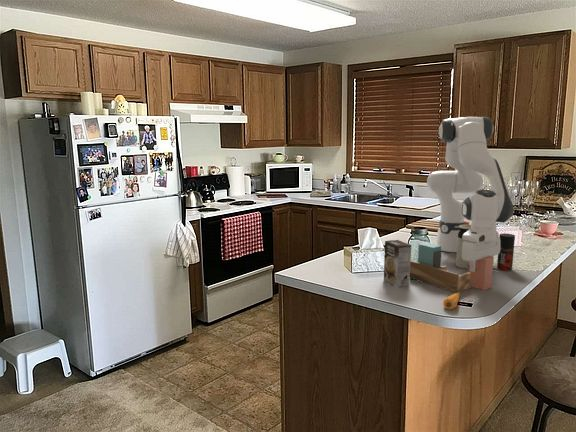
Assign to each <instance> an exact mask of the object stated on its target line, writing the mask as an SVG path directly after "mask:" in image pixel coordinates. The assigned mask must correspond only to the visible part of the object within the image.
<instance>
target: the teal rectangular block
mask: <svg viewBox="0 0 576 432" xmlns="http://www.w3.org/2000/svg"><path fill="white" fill-rule="evenodd" d="M417 249H418V251H417V252H418V254H417V261H418V262H419V263H422V264H426V265H429V266H433V267H436V268H438V267H442V266H441V264H442V251H441V246H440V245H436V244H434V243H432V242H422V243H419V244H418V248H417Z"/></svg>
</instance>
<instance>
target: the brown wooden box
mask: <svg viewBox="0 0 576 432" xmlns="http://www.w3.org/2000/svg"><path fill="white" fill-rule="evenodd" d="M467 272H468V271H467ZM467 272H465V273H462V274H459V273H456V272H453V271H450V270H449V271H448V265H442V266H441V267H438V268H436V267H433V266H429V265H426V264H422V263H419V262H418V260H417V261H416V260H410V278H409V279H412V278H414V279H413V280H415V279H417V280H416V281H418V280H419V281H418V282H421V281H422V283H425V284H427V285H431V286H433V287H436V288H440V289H443V290H445V291H448V292H449V291H450V292H452V293H454V294H455V293H458V292H462V291H464V290H468V289H470V288H471V286H470V280H471V273H470V272H468V273H467Z"/></svg>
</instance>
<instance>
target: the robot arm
mask: <svg viewBox="0 0 576 432" xmlns="http://www.w3.org/2000/svg"><path fill="white" fill-rule="evenodd" d="M493 133H494V123H493V120H492V119H491V118H490V117H487V116H465V117H464V116H463V117H462V116H461V117H454V118H450V117H449V118H446V119H443V120H442V121H441V122H440V125H439V127H438V135H439V138H440V140H441V142H443V143H446V146H445V147H446V148H445V150H446V151H445V158H444V159H445V163H446V164H447V165H448V167H451V168H453V169H454V170H436V171H432V172H431V173H429V174H428V177H427V179H426V185H427V187H428V189H429V191H430V192H432V193H433V194H434V195H435V196H436V198H437V200H438V201H439V205H440V219H439V223H438V224H439V226H438V227H439V228H438V230H437V234H436V239H435V242H434V243H433V244H436V245H440V246H441V252H442V251H443V252H447V253H448V252H449V253H457V242H458V232H459V231H460V227H459V226H460V225H471V228H470V229H469V230H468V231H467V232H466V233H464V234H463V236H462V239H463V240H465V241H464V242H463V244H462V259H463V260H464V261H467V262H468V263H469V265H470V271H471V272H475V271H476V269H477V267H475V263H476V261H477V260H480V259H482V258H485V257H488V256H492V257H494V256H498V254H499V253H500V237H499V235H500V233H499V232H498V231H497V223H506V222H507V221H509V220H510V219H511V218H512V217H513V215H514V204H513V202H512V199H511V198H510V195H509V192H508V189H507V186H506V183H505V180H504V179H505V178H504V176H503V173H502V170H501V168H500V164H499V162H498V161H497V159H496V158H494V157H493V156H492V155H491V153H490V152H489V150H488V146H487V145H488V144H487V141H489V140H490V139H491V138H492V135H493ZM482 175H483V176H485V177H486V178H488V180H489V182H490V184H491V188H492V190H490V189H489V190H488V189H482V188H483V185H484V177H483V176H482ZM453 194H473V195H472V196H468V197H466V198H465V199H463V201H462V202H461V201H460V200H458V199H456V198H454V197H453ZM465 219H466V220H465ZM469 221H471V224H470V222H469Z"/></svg>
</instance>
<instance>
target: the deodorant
mask: <svg viewBox="0 0 576 432" xmlns="http://www.w3.org/2000/svg"><path fill="white" fill-rule="evenodd" d="M499 237H500V253H499V254H498V255H497V261H496V262H497V263H496V270H498V271H502V272H512V270H513V264H514V263H513V262H514V251H515V238H516V234H513V233H505V232H504V233H499Z"/></svg>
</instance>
